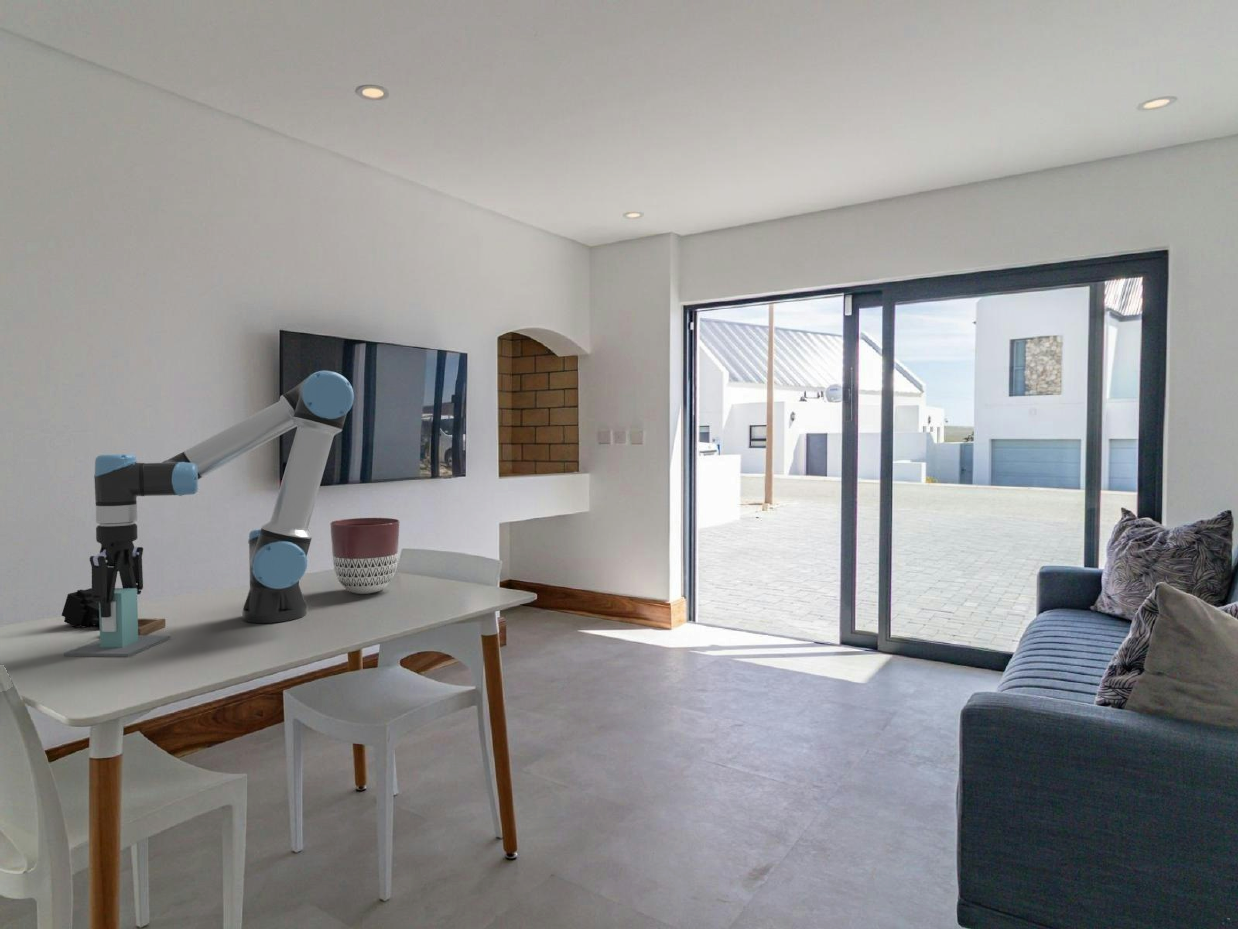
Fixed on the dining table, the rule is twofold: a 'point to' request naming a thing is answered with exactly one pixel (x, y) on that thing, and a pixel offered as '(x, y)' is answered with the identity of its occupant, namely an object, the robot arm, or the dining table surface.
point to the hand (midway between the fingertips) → (119, 627)
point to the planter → (365, 552)
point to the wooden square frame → (149, 625)
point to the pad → (126, 651)
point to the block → (122, 619)
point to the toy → (81, 609)
